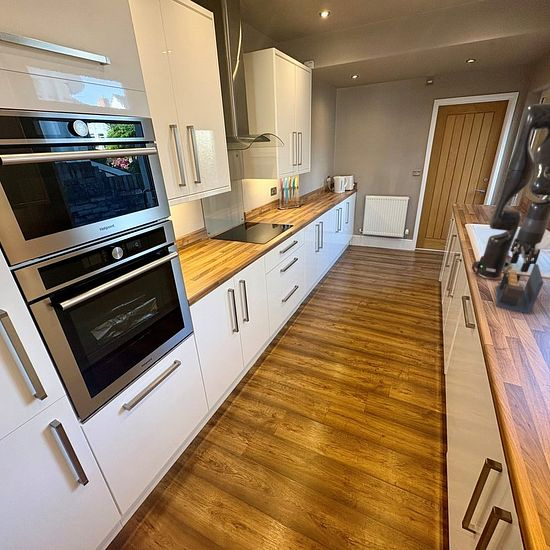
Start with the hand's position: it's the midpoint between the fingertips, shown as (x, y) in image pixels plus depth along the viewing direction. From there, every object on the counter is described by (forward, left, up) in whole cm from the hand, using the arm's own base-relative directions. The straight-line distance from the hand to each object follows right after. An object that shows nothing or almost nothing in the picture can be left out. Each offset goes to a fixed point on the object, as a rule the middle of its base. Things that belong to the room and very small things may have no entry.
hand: (518, 267), depth 119 cm
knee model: (-22, +39, -15) cm, 47 cm away
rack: (+1, +2, -15) cm, 15 cm away
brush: (+1, -1, -8) cm, 8 cm away
